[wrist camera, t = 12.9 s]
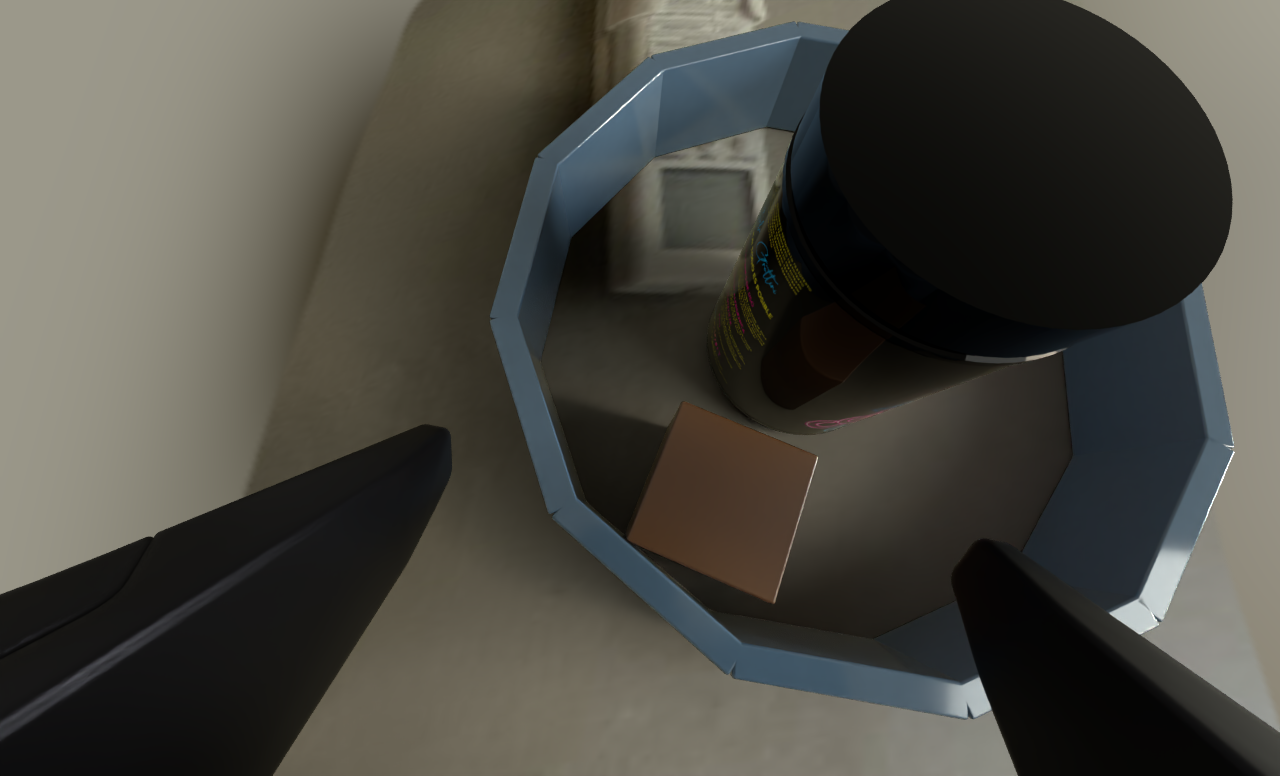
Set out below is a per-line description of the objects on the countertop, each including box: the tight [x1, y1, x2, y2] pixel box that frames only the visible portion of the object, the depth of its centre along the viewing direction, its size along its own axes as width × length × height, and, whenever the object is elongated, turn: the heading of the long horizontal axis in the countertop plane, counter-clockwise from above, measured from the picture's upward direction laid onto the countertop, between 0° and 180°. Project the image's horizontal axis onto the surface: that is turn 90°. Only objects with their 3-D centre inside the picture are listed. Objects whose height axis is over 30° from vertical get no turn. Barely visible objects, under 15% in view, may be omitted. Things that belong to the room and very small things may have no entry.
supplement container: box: [707, 0, 1232, 435], centre depth 12 cm, size 7×7×10 cm
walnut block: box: [625, 401, 818, 604], centre depth 14 cm, size 4×4×4 cm
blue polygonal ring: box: [490, 21, 1234, 720], centre depth 16 cm, size 22×22×4 cm
